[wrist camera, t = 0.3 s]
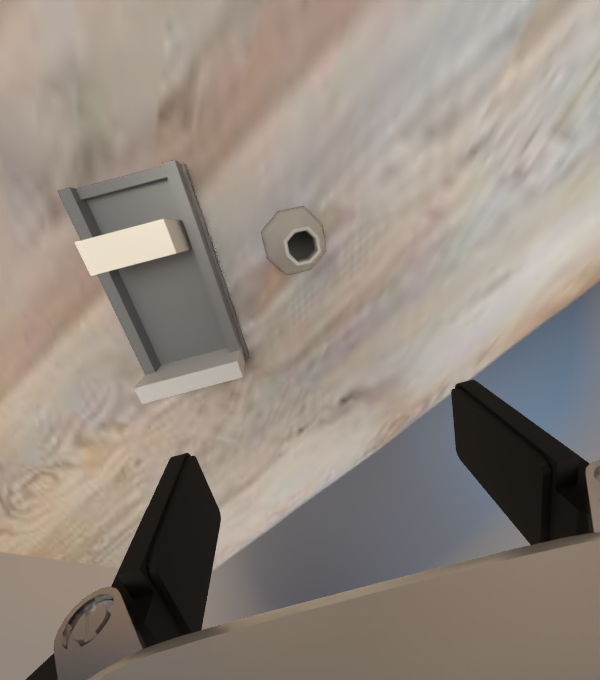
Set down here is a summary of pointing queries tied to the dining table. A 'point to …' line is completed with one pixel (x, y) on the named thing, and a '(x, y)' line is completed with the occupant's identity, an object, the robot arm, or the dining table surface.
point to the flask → (294, 240)
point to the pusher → (133, 245)
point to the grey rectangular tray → (164, 283)
